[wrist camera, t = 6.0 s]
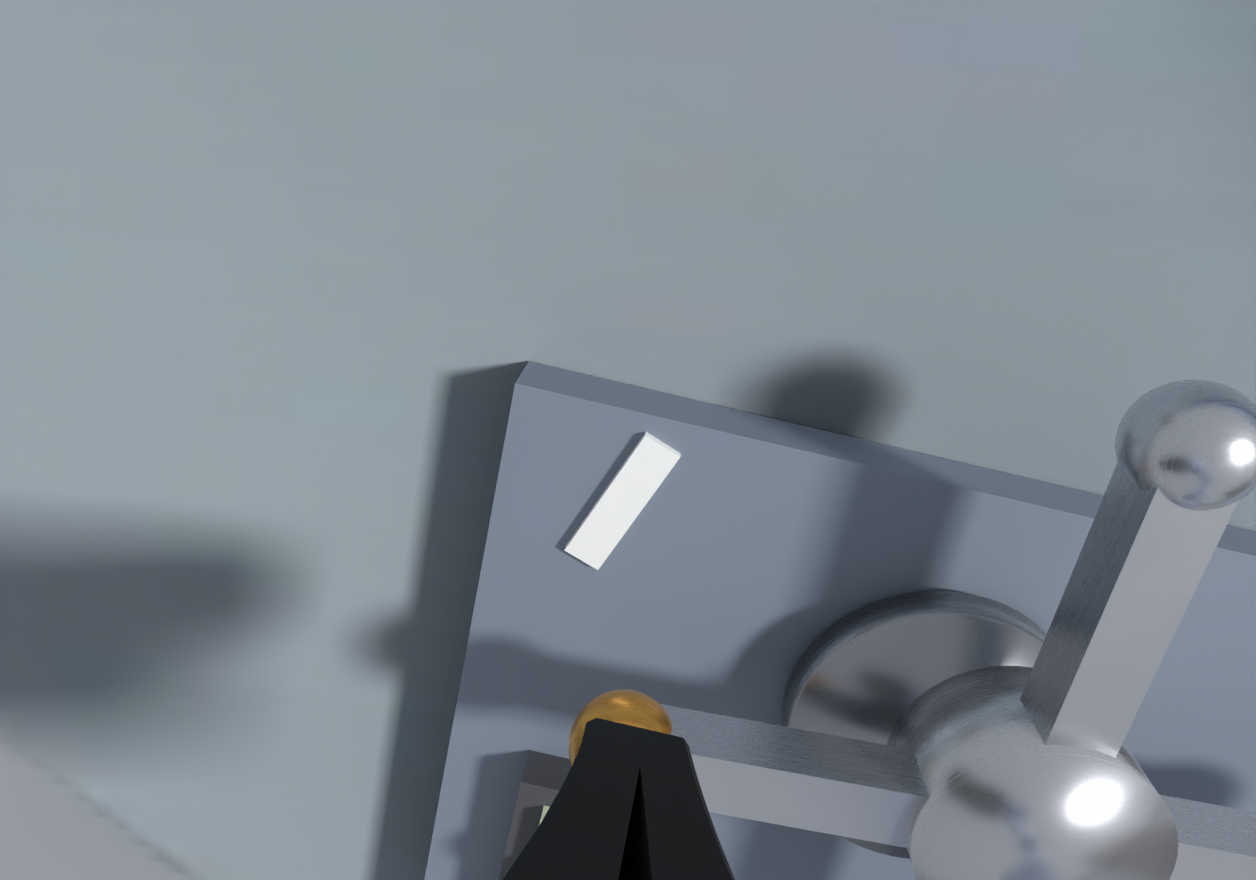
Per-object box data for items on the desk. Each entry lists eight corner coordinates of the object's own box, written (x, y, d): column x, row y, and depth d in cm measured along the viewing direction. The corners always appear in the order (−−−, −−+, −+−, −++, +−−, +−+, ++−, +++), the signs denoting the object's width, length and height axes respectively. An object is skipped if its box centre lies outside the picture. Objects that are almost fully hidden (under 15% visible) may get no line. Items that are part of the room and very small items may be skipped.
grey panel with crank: (1067, 1037, 24) (1130, 1195, 20) (428, 895, 24) (384, 1031, 20) (1365, 557, 18) (1523, 663, 15) (528, 360, 18) (490, 423, 14)
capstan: (1611, 425, 15) (1873, 516, 12) (1210, 1058, 21) (1307, 1235, 18) (656, 252, 15) (647, 294, 12) (534, 935, 21) (505, 1089, 18)
